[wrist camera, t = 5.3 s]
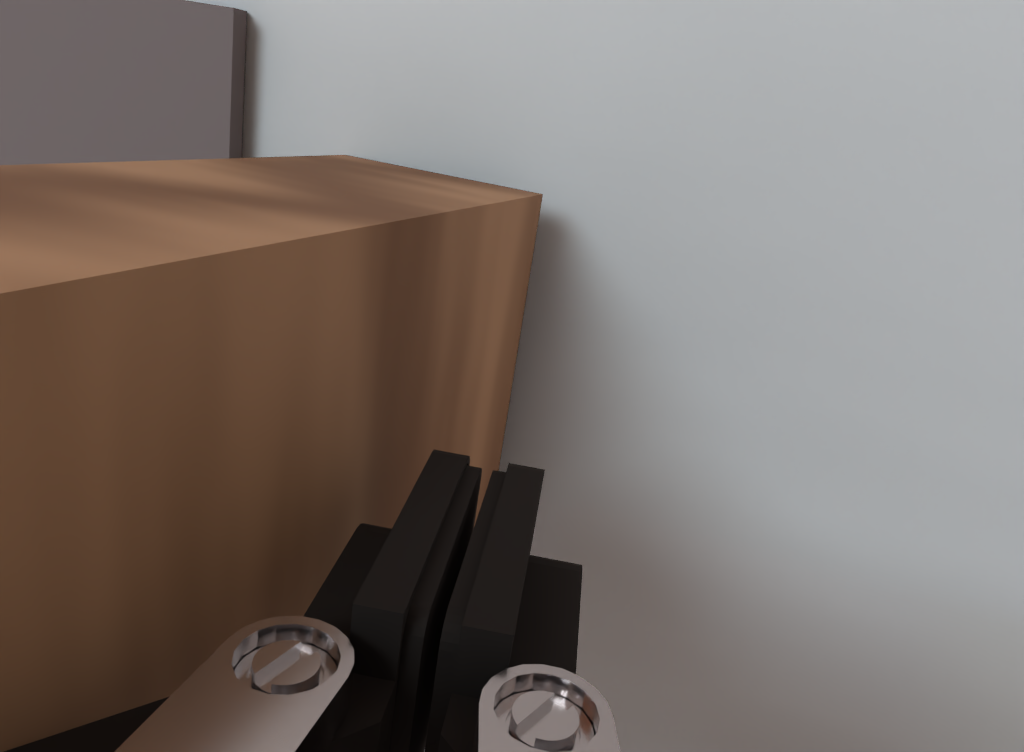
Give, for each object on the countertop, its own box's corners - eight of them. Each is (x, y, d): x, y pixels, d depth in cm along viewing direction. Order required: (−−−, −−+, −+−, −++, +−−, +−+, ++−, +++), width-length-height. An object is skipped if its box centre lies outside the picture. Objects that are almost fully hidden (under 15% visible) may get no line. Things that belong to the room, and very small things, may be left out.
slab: (542, 194, 16) (-88, 308, 5) (480, 583, 19) (2, 1176, 8) (339, 153, 17) (-497, 176, 6) (311, 522, 20) (-290, 958, 9)
